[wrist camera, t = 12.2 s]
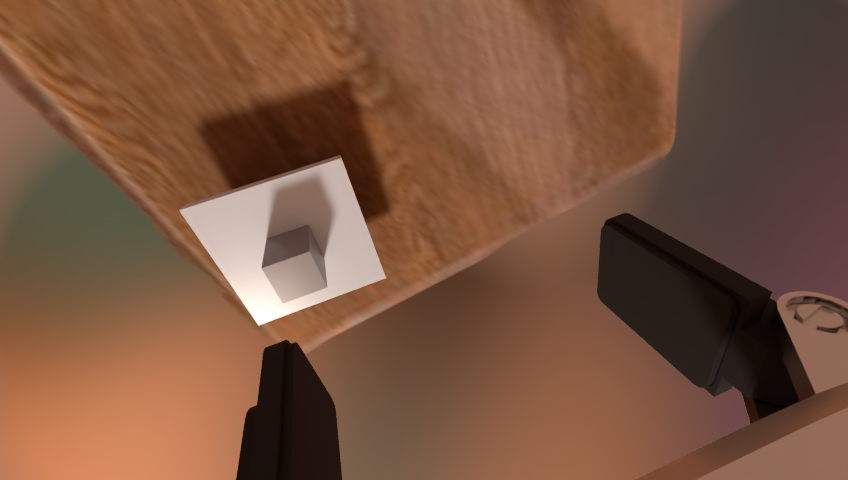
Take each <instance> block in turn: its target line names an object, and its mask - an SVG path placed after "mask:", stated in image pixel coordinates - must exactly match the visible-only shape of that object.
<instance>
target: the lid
mask: <svg viewBox="0 0 848 480" xmlns="http://www.w3.org/2000/svg"><path fill="white" fill-rule="evenodd" d="M179 211H180V212H181V214H182V215H183V217H184V218H185V219H186V221H187V222H188V224H189V225H190V227H191V228H192V230H193V231H194V232H195V234H196V235H197V237H198V238H199V240H200V241H201V243H202V244H203V245H204V247H205V248H206V250H207V251H208V253H209V254H210V256H211V257H212V259H213V260H214V261H215V263H216V264H217V266H218V267H219V269H220V270H221V272H222V273H223V274H224V276H225V277H226V279H227V280H228V282H229V283H230V285H231V286H232V287H233V289H234V290H235V292H236V293H237V295H238V296H239V298H240V299H241V300H242V302H243V303H244V305H245V306H246V308H247V309H248V311H249V312H250V313H251V315H252V316H253V318H254V319H255V321H256V322H257V324H258V325H261V324H264V323H266V322H269V321H272V320H274V319H277V318H280V317H282V316H285V315H288V314H291V313H293V312H296V311H299V310H301V309H304V308H307V307H309V306H312V305H315V304H317V303H320V302H323V301H326V300H328V299H331V298H334V297H336V296H339V295H342V294H344V293H347V292H350V291H352V290H355V289H358V288H361V287H363V286H366V285H369V284H371V283H374V282H377V281H379V280H382V279H385V278H386V277H385V274H384V271H383V269H382V266H381V263H380V261H379V258H378V255H377V252H376V250H375V247H374V244H373V242H372V239H371V236H370V234H369V231H368V228H367V225H366V223H365V220H364V217H363V215H362V212H361V209H360V206H359V204H358V201H357V198H356V196H355V193H354V190H353V188H352V185H351V182H350V179H349V177H348V174H347V171H346V169H345V166H344V163H343V161H342V158H341V155H338V156H335V157H332V158H329V159H326V160H323V161H320V162H317V163H313V164H310V165H307V166H304V167H301V168H298V169H295V170H292V171H288V172H285V173H282V174H279V175H276V176H273V177H270V178H267V179H264V180H260V181H257V182H254V183H251V184H248V185H245V186H242V187H239V188H235V189H232V190H229V191H226V192H223V193H220V194H217V195H214V196H211V197H207V198H204V199H201V200H198V201H195V202H192V203H189V204H186V205H182V207H181V208H180V210H179Z"/></svg>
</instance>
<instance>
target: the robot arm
mask: <svg viewBox="0 0 848 480" xmlns="http://www.w3.org/2000/svg"><path fill="white" fill-rule="evenodd" d="M599 258H600V259H599V274H598V288H597V293H598V296H599V298H600V300H601V301H602V302H603V304H605V305H606V306H607V307H608V308H609V309H610V310H611V311H613V312H614V313H615V314H616V315H617V316H618V317H619V318H621V320H623V321H624V322H625V323H626V324H627V325H628V326H629V327H630V328H632V329H633V330H634V331H635V332H636V333H637V334H638V335H639V336H640V337H642V338H643V339H644V340H645V341H646V342H647V343H648V344H649V345H651V346H652V347H653V348H654V349H655V350H656V351H657V352H658V353H660V354H661V355H662V356H663V357H664V358H665V359H666V360H667V361H668V362H670V363H671V364H672V365H673V366H674V367H675V368H676V369H677V370H679V371H680V372H681V373H682V374H683V375H684V376H686V378H688V379H689V380H690V381H691V382H692V383H693V384H695V385H696V386H698V387H701V388H703V387H704V388H705V389H706V390H707V391H708V392H709V393H710V394H712V395H713V396H714V397H715V396H717V395H719V394H721V393H723V392H725V391H728V390H730V389H731V388H732V386H734V387H735V388H737V389H738V390H739V391H740V392H741V393H742V396H743V399H744V404H745V407H746V411H747V414H748V417H749V421H750V425H748V426H746V427H744V428H742V429H739V430H737V431H735V432H733V433H731V434H729V435H727V436H725V437H723V438H721V439H719V440H717V441H715V442H712V443H710V444H709V445H706V446H704V447H702V448H700V449H698V450H696V451H694V452H692V453H690V454H688V455H685V456H683V457H681V458H679V459H677V460H675V461H673V462H671V463H669V464H667V465H665V466H663V467H661V468H659V469H657V470H654V471H653V472H650V473H648V474H646V475H644V476H642V477H640V478H638V479H636V480H848V303H846V302H844V301H842V300H840V299H837V298H835V297H831V296H828V295H825V294H821V293H814V292H802V291H800V292H799V291H796V292H791V293H786V294H784V295H783V296H781V297H779V299H778V301H777V302H775V301H774V300H772V299H770V296H771V293H772V292H771V291H769V290H767V289H766V288H764V287H762V286H760V285H759V284H757V283H755V282H753V281H751V280H749V279H747V278H746V277H744V276H742V275H740V274H738V273H737V272H735V271H733V270H731V269H729V268H727V267H726V266H724V265H722V264H720V263H718V262H716V261H715V260H713V259H711V258H709V257H707V256H705V255H704V254H702V253H700V252H698V251H696V250H695V249H693V248H691V247H689V246H687V245H685V244H684V243H682V242H680V241H678V240H676V239H674V238H673V237H671V236H669V235H667V234H665V233H664V232H662V231H660V230H658V229H656V228H655V227H653V226H651V225H649V224H647V223H645V222H644V221H642V220H640V219H638V218H636V217H634V216H633V215H631V214H628V213H624V214H621V215H618V216H615V217H613V218H610V219H608V220H606V222H605V224H604V226H603V227H602V229H601V241H600V257H599ZM236 480H342V473H341V462H340V451H339V441H338V430H337V418H336V410H335V405H334V402H333V400H332V398H331V396H330V395H329V393H328V391H327V390H326V388H325V387H324V385H323V383H322V382H321V380H320V379H319V377H318V375H317V374H316V372H315V370H314V369H313V367H312V365H311V364H310V363H309V361H308V359H307V357H306V356H305V354H304V353H303V351H302V349H301V348H300V346H299V345H298V343H296V342H295V343H292V344H291V343H290V342H289V341H288V340H285V341H282V342H280V343H277V344H274V345H272V346H269V347H266V348H265V349H264V353H263V360H262V369H261V377H260V386H259V394H258V402H257V405H256V406H254V407H252V408H250V409H249V410H248V412H247V414H246V418H245V424H244V431H243V437H242V444H241V451H240V458H239V465H238V471H237V478H236Z"/></svg>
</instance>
